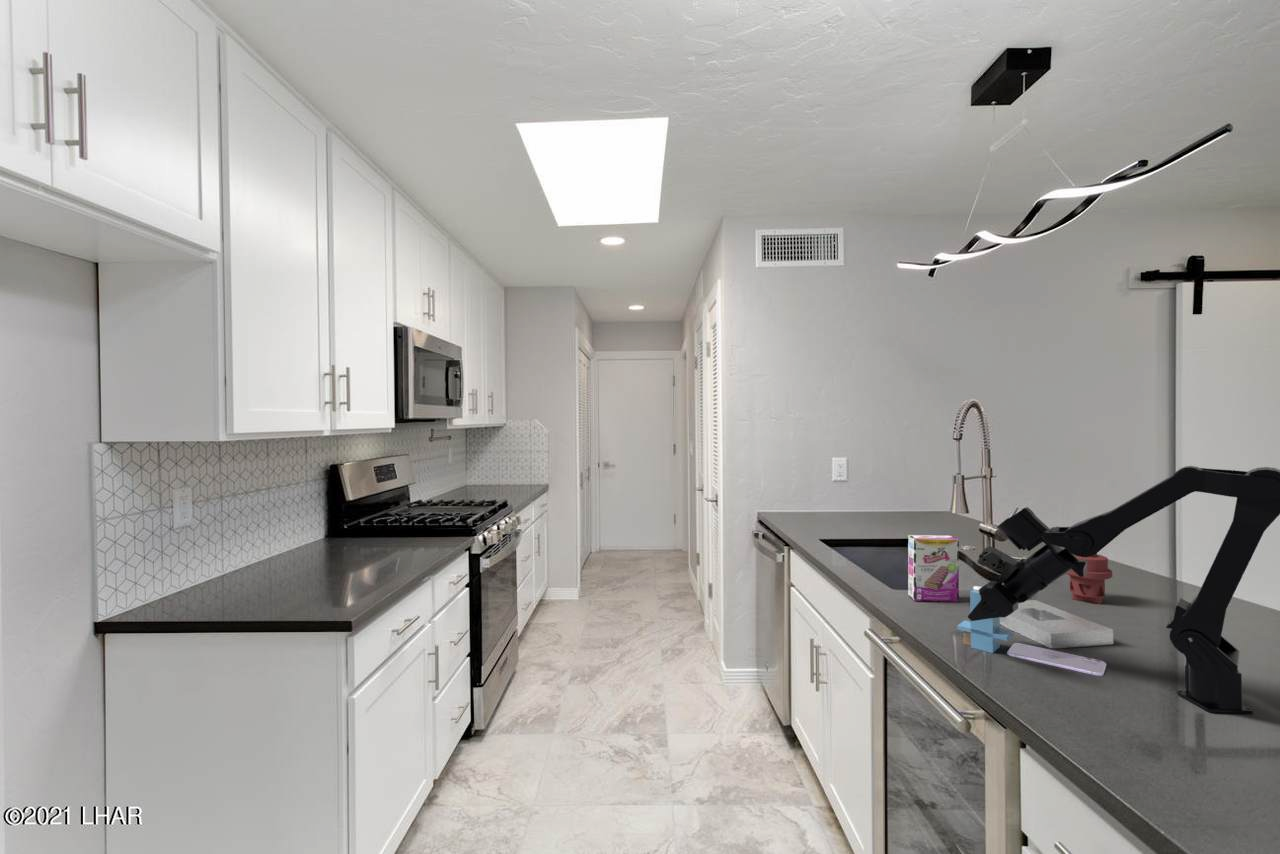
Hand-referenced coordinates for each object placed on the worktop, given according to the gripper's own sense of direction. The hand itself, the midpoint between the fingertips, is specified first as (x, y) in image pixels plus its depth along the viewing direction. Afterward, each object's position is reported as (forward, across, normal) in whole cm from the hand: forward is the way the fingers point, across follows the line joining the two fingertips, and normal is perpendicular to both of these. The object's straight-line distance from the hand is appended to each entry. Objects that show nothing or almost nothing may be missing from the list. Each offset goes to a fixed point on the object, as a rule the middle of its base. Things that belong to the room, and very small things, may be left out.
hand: (977, 613), depth 118 cm
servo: (+4, 0, +6) cm, 7 cm away
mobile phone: (-4, -3, +14) cm, 15 cm away
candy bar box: (+18, -25, -8) cm, 32 cm away
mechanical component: (-2, -52, +12) cm, 53 cm away
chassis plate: (0, -20, +10) cm, 22 cm away
